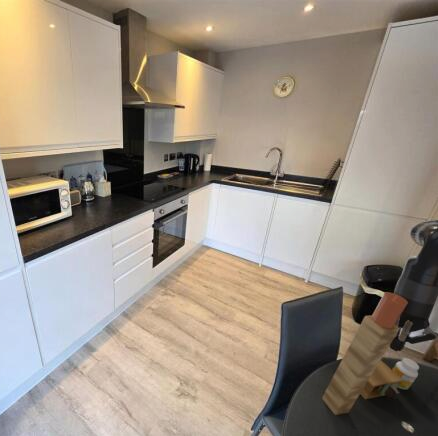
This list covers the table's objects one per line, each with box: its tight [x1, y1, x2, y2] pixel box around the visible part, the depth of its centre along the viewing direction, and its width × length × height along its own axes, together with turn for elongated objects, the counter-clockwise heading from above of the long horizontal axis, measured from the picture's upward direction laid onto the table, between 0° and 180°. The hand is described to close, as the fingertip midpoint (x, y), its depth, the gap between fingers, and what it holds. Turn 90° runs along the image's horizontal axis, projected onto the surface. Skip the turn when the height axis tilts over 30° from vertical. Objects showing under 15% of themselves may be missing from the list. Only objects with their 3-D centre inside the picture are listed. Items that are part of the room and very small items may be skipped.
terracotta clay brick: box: [371, 291, 408, 329], centre depth 63 cm, size 4×4×8 cm
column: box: [321, 314, 400, 416], centre depth 71 cm, size 5×5×35 cm
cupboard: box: [359, 359, 403, 400], centre depth 83 cm, size 12×7×7 cm, turn 101°
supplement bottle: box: [391, 357, 420, 390], centre depth 84 cm, size 5×5×10 cm
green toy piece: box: [380, 382, 400, 401], centre depth 79 cm, size 5×3×5 cm, turn 101°
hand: (394, 349), depth 69 cm, fingers closed
